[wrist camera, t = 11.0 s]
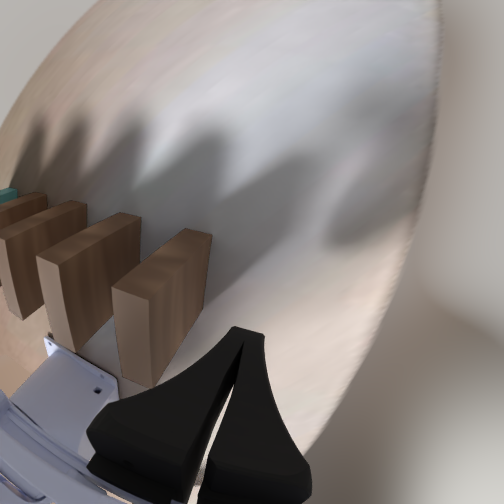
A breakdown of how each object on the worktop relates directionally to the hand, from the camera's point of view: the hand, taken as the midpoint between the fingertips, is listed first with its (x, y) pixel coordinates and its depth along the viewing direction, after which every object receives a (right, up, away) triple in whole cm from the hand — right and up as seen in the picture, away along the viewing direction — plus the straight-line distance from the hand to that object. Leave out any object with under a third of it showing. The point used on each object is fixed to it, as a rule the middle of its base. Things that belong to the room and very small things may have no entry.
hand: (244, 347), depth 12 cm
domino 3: (-12, +5, +6) cm, 14 cm away
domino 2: (-7, +4, +5) cm, 10 cm away
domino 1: (-3, +3, +5) cm, 7 cm away
